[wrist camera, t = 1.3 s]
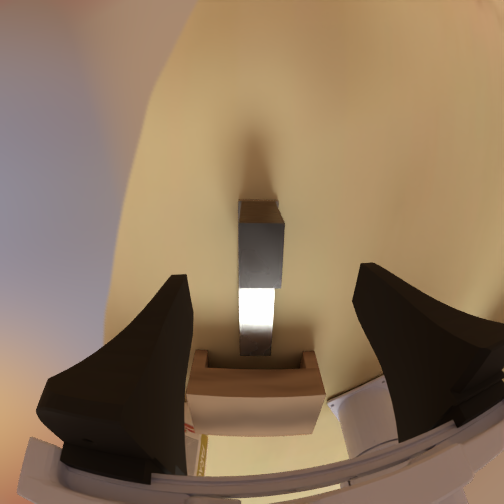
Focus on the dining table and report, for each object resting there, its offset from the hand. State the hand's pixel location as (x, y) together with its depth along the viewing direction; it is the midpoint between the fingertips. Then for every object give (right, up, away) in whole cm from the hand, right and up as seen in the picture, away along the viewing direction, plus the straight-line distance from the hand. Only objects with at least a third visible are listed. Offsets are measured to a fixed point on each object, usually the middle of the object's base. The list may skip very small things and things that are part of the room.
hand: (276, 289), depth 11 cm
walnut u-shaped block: (-1, -12, +17) cm, 21 cm away
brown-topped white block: (-1, -1, +13) cm, 13 cm away
